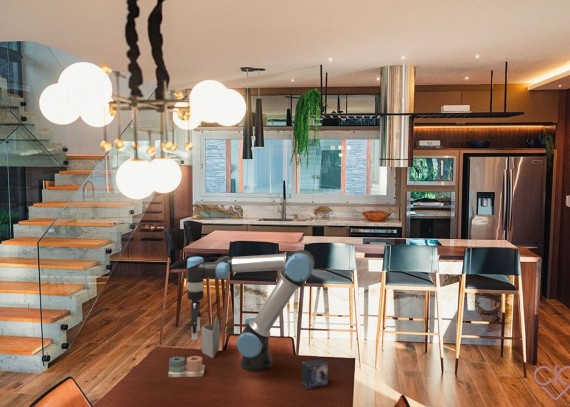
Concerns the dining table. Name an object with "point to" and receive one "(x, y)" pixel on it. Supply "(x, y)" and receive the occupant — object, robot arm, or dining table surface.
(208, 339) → the grey magazine holder
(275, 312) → the robot arm
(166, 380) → the dining table surface
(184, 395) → the dining table surface
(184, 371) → the gear board
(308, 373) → the small box
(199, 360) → the loose gear
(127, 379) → the dining table surface
